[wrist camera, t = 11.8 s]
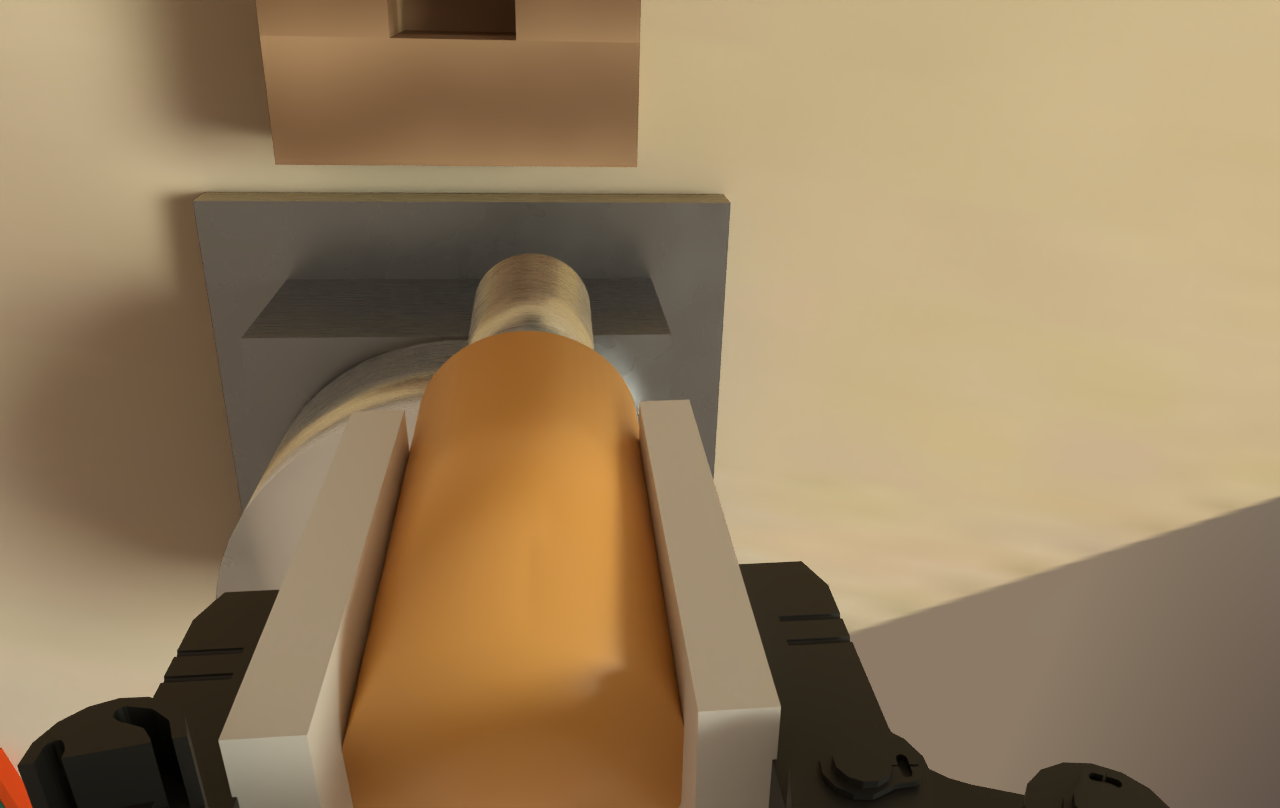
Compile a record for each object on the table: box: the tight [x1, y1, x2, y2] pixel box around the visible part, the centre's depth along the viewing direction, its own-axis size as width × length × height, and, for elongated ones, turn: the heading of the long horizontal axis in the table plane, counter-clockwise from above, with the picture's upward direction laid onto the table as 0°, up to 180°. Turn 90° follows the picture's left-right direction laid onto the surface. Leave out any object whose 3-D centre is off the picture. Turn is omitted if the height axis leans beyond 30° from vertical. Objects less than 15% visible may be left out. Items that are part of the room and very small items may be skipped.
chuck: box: [216, 340, 468, 599], centre depth 31 cm, size 15×14×9 cm
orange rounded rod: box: [342, 254, 684, 808], centre depth 15 cm, size 4×4×12 cm
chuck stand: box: [193, 192, 730, 513], centre depth 39 cm, size 20×20×8 cm
